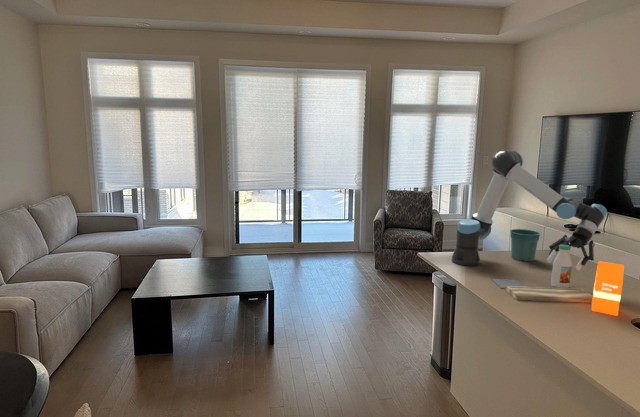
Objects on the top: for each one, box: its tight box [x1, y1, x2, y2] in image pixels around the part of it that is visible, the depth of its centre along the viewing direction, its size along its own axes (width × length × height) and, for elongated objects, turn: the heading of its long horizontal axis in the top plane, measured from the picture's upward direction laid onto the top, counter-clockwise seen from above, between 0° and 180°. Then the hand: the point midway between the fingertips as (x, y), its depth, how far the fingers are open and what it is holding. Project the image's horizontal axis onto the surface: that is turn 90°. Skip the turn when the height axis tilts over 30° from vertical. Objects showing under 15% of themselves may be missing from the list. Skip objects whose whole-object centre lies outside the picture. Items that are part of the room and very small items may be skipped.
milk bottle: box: [550, 245, 573, 288], centre depth 198 cm, size 8×8×20 cm
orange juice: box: [591, 260, 625, 316], centre depth 170 cm, size 8×9×20 cm
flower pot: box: [509, 228, 542, 262], centre depth 246 cm, size 16×16×16 cm
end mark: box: [491, 278, 526, 290], centre depth 200 cm, size 12×12×1 cm
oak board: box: [504, 285, 593, 304], centre depth 186 cm, size 12×34×2 cm, turn 89°
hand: (562, 265), depth 197 cm, fingers open, 13 cm apart
